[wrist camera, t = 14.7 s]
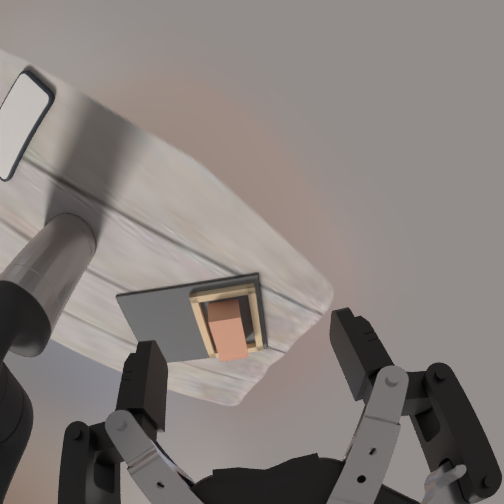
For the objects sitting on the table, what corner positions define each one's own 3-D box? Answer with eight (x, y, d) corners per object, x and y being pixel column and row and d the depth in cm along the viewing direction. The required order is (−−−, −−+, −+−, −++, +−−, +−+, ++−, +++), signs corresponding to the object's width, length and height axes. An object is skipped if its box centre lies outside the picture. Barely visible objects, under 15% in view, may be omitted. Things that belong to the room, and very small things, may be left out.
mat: (150, 362, 53) (150, 368, 52) (116, 295, 44) (113, 301, 42) (266, 347, 54) (268, 353, 53) (257, 273, 45) (259, 279, 44)
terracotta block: (207, 303, 46) (208, 322, 42) (237, 298, 46) (240, 317, 43) (219, 342, 51) (220, 361, 47) (245, 338, 52) (248, 357, 48)
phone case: (28, 67, 23) (-17, 152, 27) (22, 67, 22) (-23, 154, 26) (60, 96, 27) (11, 182, 31) (54, 97, 26) (6, 185, 30)
